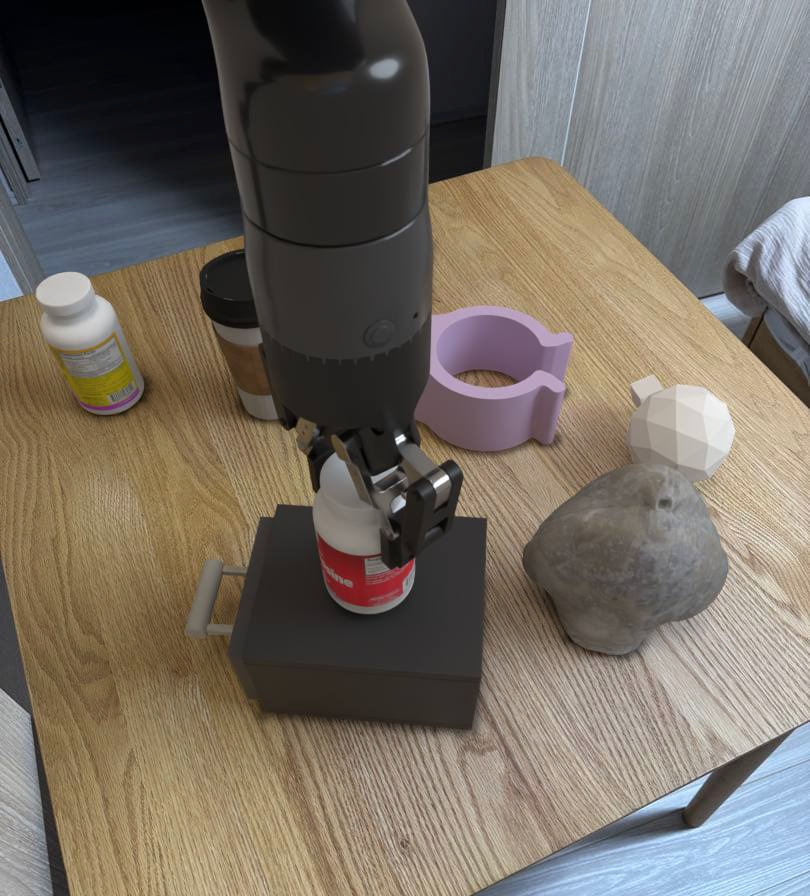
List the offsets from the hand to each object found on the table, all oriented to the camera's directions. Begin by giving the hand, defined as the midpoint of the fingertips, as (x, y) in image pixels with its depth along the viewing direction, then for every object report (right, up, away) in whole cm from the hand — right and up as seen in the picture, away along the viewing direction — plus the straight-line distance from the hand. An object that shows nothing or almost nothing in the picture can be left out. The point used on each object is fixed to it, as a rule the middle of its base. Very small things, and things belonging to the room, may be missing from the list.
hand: (364, 521), depth 45 cm
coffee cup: (-11, +13, +30) cm, 34 cm away
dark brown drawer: (-4, -9, +14) cm, 17 cm away
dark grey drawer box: (0, -10, +14) cm, 17 cm away
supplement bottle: (-27, +13, +30) cm, 43 cm away
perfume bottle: (+27, +7, +25) cm, 37 cm away
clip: (+8, +13, +29) cm, 33 cm away
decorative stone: (+19, -6, +16) cm, 26 cm away
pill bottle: (0, -4, +6) cm, 7 cm away
